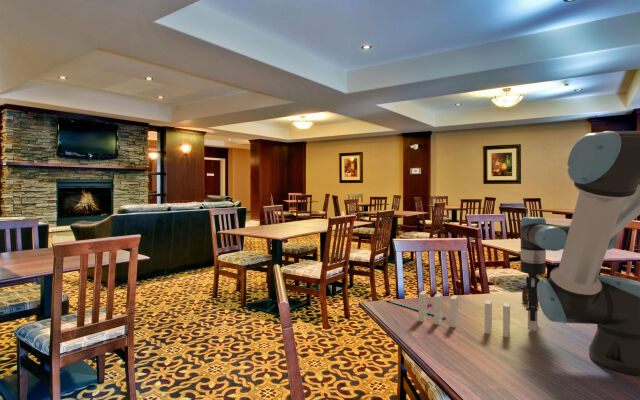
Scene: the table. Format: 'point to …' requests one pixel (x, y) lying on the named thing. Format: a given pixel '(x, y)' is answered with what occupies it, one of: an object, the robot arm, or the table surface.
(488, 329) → the domino
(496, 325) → the table surface
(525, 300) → the utensil holder
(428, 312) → the squeegee
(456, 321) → the domino
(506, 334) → the domino
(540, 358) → the table surface
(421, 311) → the domino
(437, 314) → the domino
